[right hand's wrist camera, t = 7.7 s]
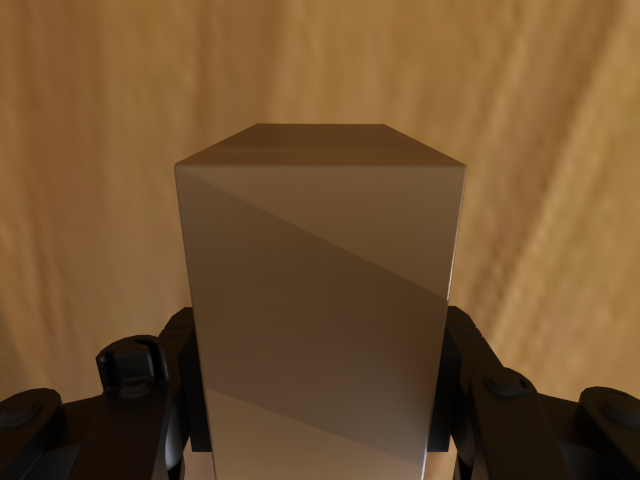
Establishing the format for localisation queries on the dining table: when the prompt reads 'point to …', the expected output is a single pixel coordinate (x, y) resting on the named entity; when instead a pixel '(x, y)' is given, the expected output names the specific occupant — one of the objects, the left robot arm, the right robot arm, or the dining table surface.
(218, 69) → the dining table surface
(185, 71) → the dining table surface
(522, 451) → the right robot arm
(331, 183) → the beam
